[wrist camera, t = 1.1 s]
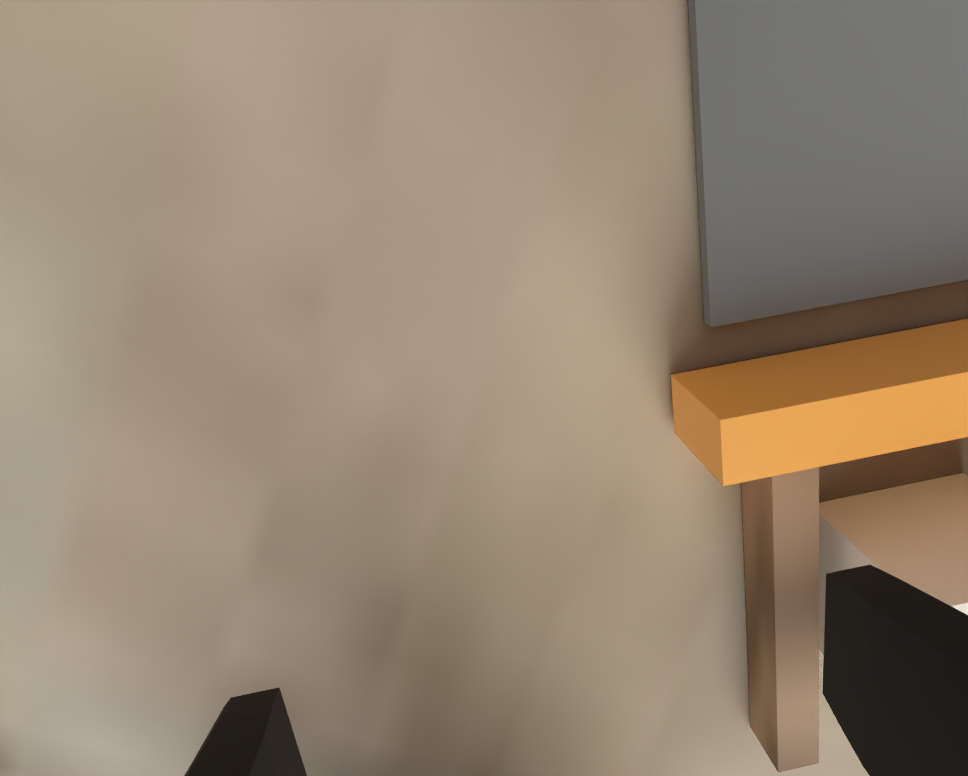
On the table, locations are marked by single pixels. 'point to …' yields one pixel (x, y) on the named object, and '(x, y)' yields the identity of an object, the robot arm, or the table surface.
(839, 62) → the slate mat
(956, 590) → the white block
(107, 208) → the table surface
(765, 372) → the orange bar
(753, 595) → the walnut channel
